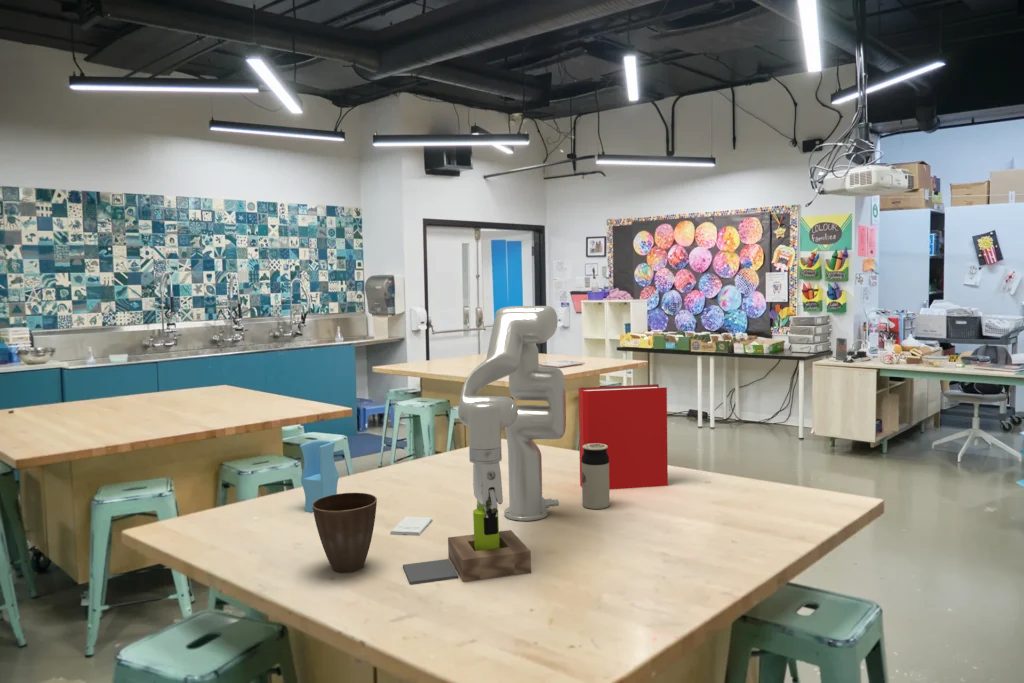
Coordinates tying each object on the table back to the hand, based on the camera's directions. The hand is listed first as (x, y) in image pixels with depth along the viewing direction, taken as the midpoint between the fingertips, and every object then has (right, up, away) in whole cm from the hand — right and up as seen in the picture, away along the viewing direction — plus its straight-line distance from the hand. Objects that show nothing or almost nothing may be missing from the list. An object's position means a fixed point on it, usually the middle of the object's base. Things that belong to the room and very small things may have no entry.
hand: (487, 529), depth 179 cm
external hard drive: (-22, -8, +30) cm, 38 cm away
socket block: (0, -9, +1) cm, 9 cm away
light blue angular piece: (-52, -6, +50) cm, 72 cm away
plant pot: (-33, -10, +2) cm, 35 cm away
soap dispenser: (0, -9, +1) cm, 9 cm away
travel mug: (+31, -5, +46) cm, 56 cm away
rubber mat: (-13, -9, -3) cm, 16 cm away
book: (+42, -3, +68) cm, 80 cm away
